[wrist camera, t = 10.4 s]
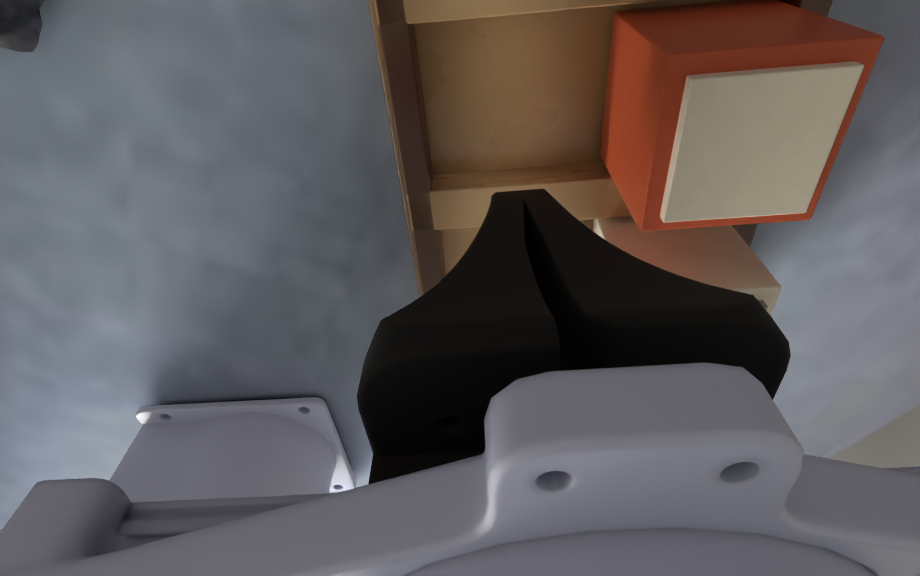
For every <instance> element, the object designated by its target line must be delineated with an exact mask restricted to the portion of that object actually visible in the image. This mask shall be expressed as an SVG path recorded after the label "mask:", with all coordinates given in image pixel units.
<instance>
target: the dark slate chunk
mask: <svg viewBox="0 0 920 576" xmlns="http://www.w3.org/2000/svg"><path fill="white" fill-rule="evenodd" d="M44 1H45V0H0V47H2V48H7V49H11V50H15V51H20V52H33V51H34V49H35V48H36V46H37V44H38V40H39V35H40V31H41V27H42V21H41V16H40V10H39V8H40V6H41V5H42V4H43V2H44Z"/></svg>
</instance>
